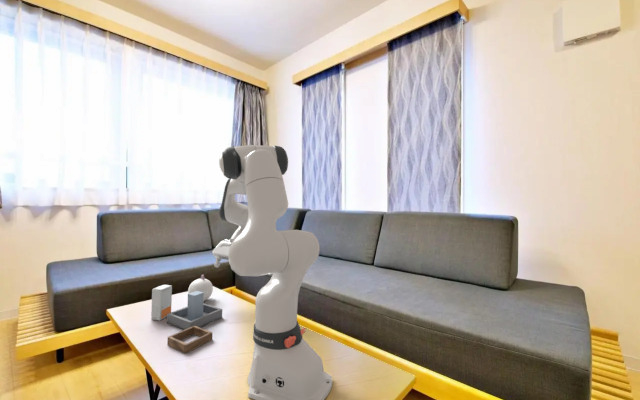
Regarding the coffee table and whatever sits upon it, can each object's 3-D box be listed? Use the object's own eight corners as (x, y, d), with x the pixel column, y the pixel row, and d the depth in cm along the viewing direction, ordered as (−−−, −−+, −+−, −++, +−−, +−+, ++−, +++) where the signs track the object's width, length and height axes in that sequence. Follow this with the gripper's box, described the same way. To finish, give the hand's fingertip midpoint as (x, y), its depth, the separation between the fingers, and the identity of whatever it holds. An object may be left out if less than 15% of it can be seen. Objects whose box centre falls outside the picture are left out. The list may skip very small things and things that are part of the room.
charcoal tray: (222, 317, 107) (222, 309, 107) (190, 332, 95) (190, 322, 95) (199, 310, 114) (199, 302, 114) (166, 323, 102) (167, 313, 102)
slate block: (203, 318, 106) (203, 292, 106) (193, 322, 102) (194, 295, 102) (196, 315, 108) (197, 290, 108) (187, 319, 104) (187, 293, 104)
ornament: (217, 298, 128) (217, 273, 128) (201, 306, 118) (202, 279, 119) (199, 295, 131) (199, 271, 131) (182, 303, 122) (183, 276, 122)
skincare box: (160, 320, 104) (160, 289, 104) (150, 319, 105) (151, 288, 105) (171, 314, 110) (172, 285, 110) (162, 313, 111) (163, 284, 111)
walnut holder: (212, 339, 91) (212, 332, 91) (185, 353, 82) (185, 345, 82) (194, 332, 95) (194, 325, 95) (167, 344, 87) (167, 337, 87)
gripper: (219, 235, 125) (202, 261, 117) (255, 239, 116) (239, 268, 108) (226, 242, 129) (210, 268, 121) (261, 247, 121) (246, 275, 112)
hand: (224, 268), depth 114 cm, fingers open, 8 cm apart
